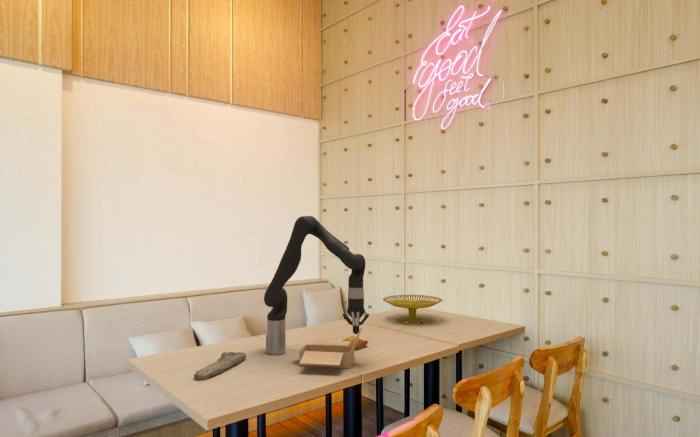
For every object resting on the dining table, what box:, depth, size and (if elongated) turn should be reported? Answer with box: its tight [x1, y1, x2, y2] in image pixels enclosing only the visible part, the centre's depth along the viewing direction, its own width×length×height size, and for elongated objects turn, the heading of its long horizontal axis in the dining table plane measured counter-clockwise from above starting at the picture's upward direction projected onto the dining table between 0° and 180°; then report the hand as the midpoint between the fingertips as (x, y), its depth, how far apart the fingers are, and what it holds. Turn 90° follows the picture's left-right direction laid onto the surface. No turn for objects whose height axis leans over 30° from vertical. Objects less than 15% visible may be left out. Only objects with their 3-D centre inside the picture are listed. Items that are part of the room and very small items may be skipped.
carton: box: [292, 339, 355, 370], centre depth 219 cm, size 28×20×7 cm
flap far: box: [351, 327, 363, 351], centre depth 213 cm, size 1×7×10 cm, turn 170°
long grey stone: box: [193, 351, 247, 382], centre depth 209 cm, size 35×5×10 cm
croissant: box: [341, 335, 369, 351], centre depth 240 cm, size 21×10×8 cm, turn 119°
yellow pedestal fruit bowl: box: [382, 294, 443, 324], centre depth 306 cm, size 40×40×15 cm
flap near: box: [300, 351, 343, 366], centre depth 204 cm, size 1×18×10 cm
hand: (356, 333), depth 213 cm, fingers closed
